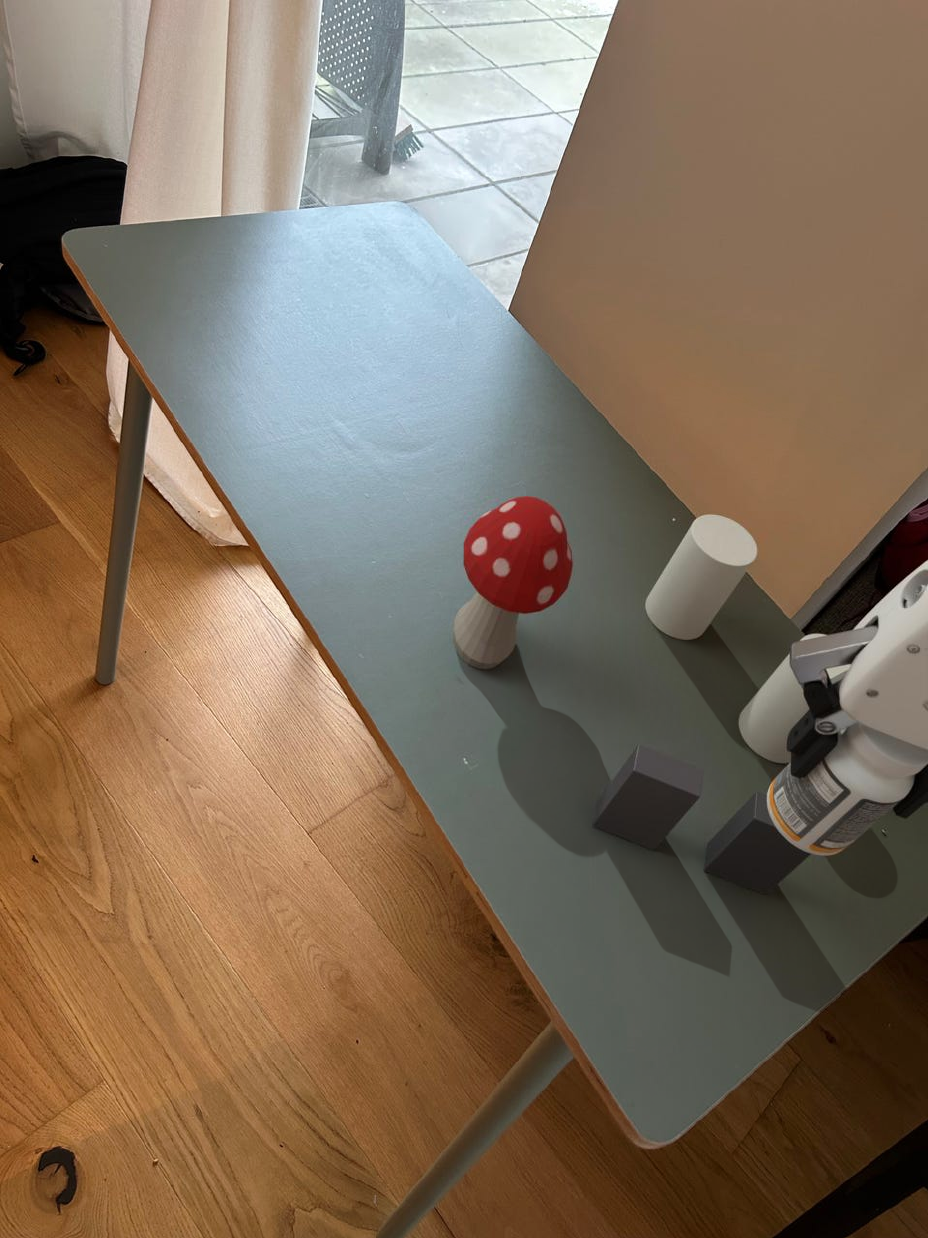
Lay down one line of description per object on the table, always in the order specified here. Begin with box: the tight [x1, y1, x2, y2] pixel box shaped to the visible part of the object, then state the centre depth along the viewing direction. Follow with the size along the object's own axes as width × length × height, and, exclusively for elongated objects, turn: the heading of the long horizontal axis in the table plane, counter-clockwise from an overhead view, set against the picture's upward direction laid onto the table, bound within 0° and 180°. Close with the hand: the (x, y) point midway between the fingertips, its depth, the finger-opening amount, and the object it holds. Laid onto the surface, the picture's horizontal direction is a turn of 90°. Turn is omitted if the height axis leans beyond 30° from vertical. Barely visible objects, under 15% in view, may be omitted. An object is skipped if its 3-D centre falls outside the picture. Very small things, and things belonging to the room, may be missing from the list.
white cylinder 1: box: [644, 514, 758, 641], centre depth 89 cm, size 6×6×10 cm
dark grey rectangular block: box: [592, 744, 705, 851], centre depth 73 cm, size 5×2×8 cm, turn 74°
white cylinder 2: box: [738, 633, 851, 764], centre depth 82 cm, size 6×6×10 cm
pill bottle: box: [766, 722, 928, 857], centre depth 58 cm, size 6×6×10 cm
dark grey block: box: [703, 791, 812, 896], centre depth 73 cm, size 5×2×8 cm, turn 74°
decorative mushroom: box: [453, 495, 574, 670], centre depth 78 cm, size 10×9×15 cm
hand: (848, 775), depth 58 cm, fingers closed on pill bottle, 5 cm apart
